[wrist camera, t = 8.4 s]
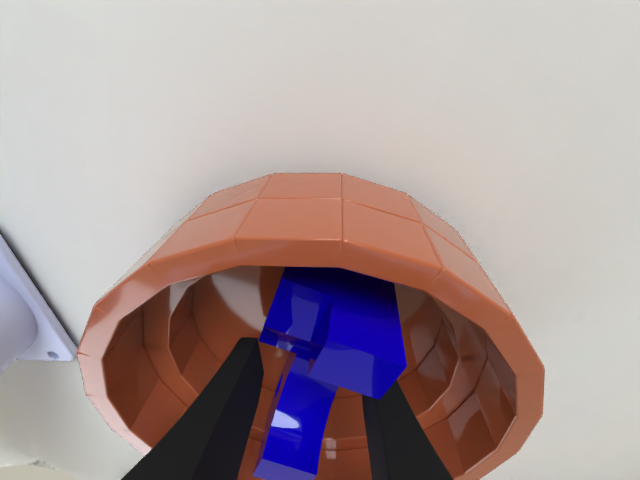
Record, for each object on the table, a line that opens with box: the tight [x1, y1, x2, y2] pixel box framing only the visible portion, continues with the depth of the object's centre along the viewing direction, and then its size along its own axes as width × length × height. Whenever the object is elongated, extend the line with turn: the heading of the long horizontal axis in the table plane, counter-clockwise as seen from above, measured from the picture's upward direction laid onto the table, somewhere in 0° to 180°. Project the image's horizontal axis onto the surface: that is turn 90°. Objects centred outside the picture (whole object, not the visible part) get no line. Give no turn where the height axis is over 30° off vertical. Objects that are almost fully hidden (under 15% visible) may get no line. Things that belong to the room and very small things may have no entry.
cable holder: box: [253, 267, 407, 480], centre depth 11 cm, size 8×4×4 cm, turn 160°
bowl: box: [77, 173, 545, 480], centre depth 11 cm, size 13×13×4 cm
